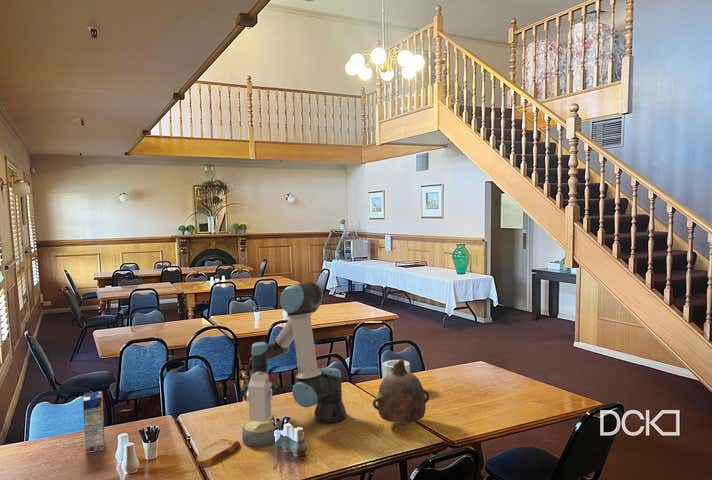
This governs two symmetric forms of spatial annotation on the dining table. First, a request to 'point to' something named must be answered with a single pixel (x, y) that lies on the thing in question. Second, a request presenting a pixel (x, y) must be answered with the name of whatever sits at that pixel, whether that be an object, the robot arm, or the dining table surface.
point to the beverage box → (94, 421)
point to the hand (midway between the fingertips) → (259, 397)
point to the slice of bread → (216, 452)
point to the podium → (259, 433)
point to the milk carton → (259, 398)
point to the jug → (401, 396)
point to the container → (390, 364)
